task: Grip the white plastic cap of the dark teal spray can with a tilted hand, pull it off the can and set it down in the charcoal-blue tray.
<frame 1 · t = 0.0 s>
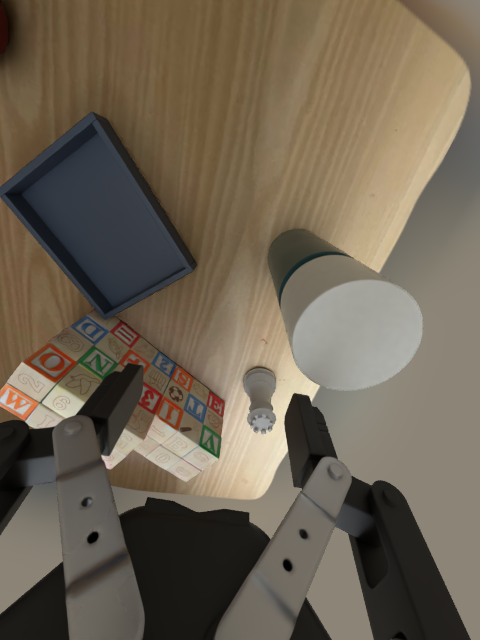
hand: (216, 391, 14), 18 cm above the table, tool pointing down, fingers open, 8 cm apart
stack of blocks: (155, 369, 36), on the table
tray: (111, 230, 28), on the table
rook chess piece: (259, 378, 36), on the table
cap: (327, 301, 17), point 13 cm above the table, touching spray can
spray can: (295, 257, 28), on the table
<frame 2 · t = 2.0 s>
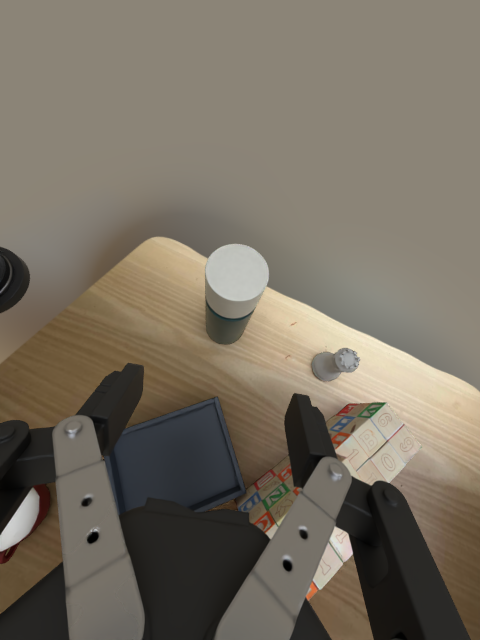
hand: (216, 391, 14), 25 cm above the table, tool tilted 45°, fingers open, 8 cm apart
stack of blocks: (308, 466, 37), on the table
tray: (175, 461, 35), on the table
rook chess piece: (323, 367, 41), on the table
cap: (232, 293, 29), point 13 cm above the table, touching spray can
cocoa: (34, 497, 32), on the table
spray can: (224, 326, 41), on the table
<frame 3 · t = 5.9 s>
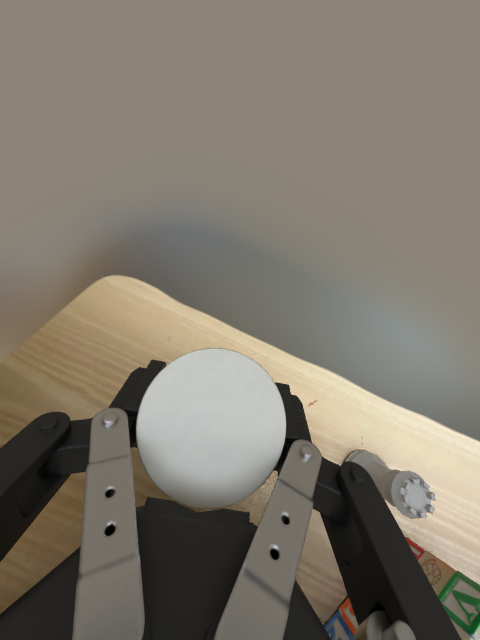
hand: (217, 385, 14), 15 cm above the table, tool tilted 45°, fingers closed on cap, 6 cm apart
rook chess piece: (360, 472, 27), on the table
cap: (211, 416, 15), point 13 cm above the table, touching gripper, spray can
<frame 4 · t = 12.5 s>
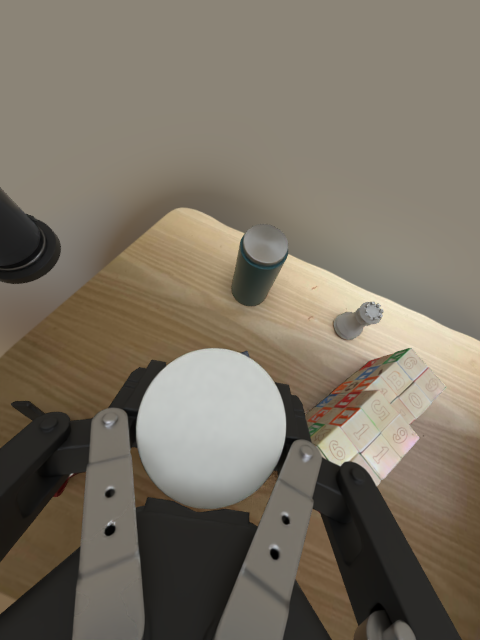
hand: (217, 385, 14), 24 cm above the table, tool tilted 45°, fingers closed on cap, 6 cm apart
stack of blocks: (334, 417, 38), on the table
rook chess piece: (344, 327, 43), on the table
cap: (211, 416, 15), point 23 cm above the table, touching gripper
cocoa: (77, 443, 33), on the table
spray can: (249, 289, 43), on the table
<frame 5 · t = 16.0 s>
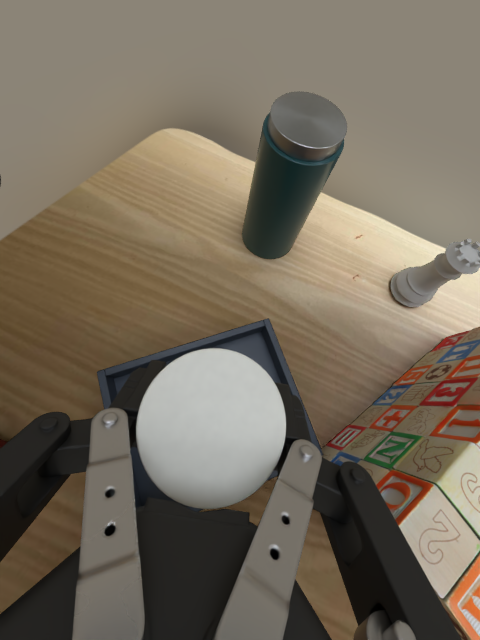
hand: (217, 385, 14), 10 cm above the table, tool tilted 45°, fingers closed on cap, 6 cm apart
stack of blocks: (400, 421, 25), on the table
tray: (209, 412, 23), on the table
rook chess piece: (404, 291, 30), on the table
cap: (211, 416, 15), point 9 cm above the table, touching gripper
spray can: (267, 236, 30), on the table
when the fingers open (2 cm above the table, at t = 18.9 s): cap stays where it is, resting on tray.
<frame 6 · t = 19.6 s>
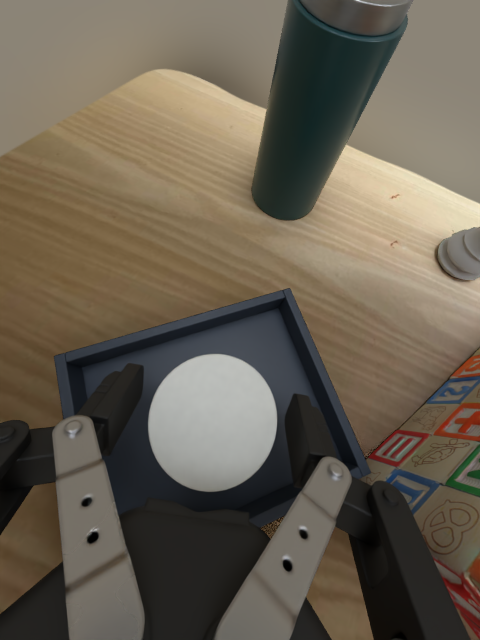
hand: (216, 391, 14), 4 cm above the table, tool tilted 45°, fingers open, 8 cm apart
stack of blocks: (462, 425, 19), on the table
tray: (211, 413, 17), on the table
rook chess piece: (455, 261, 24), on the table
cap: (212, 414, 17), resting on tray
spray can: (283, 193, 24), on the table
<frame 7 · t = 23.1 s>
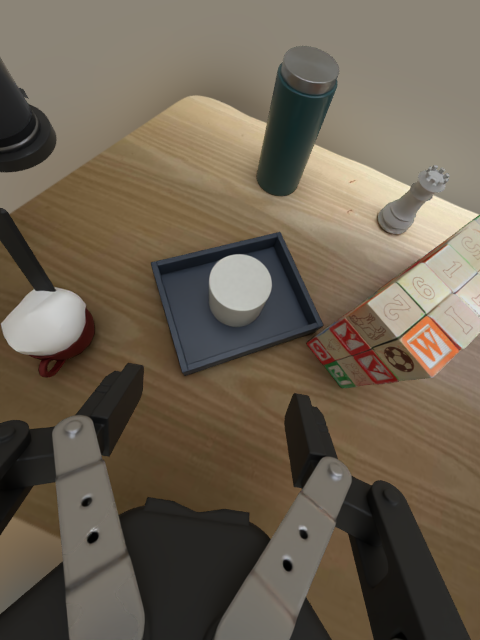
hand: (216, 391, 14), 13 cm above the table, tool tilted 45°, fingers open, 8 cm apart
stack of blocks: (385, 316, 32), on the table
tray: (234, 302, 30), on the table
rook chess piece: (390, 223, 36), on the table
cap: (235, 301, 29), resting on tray
cocoa: (74, 331, 27), on the table
spray can: (277, 179, 37), on the table
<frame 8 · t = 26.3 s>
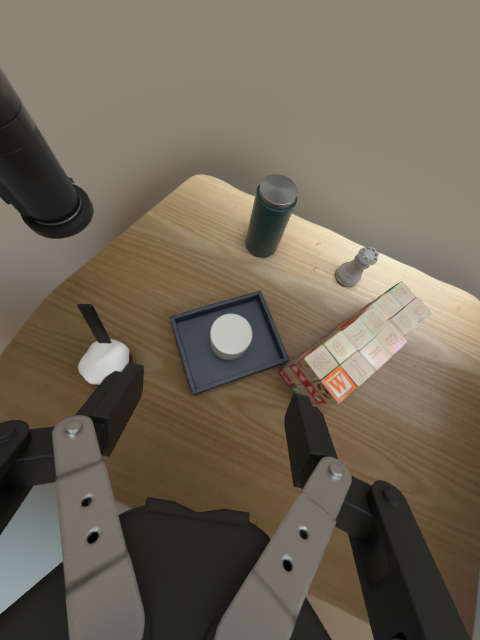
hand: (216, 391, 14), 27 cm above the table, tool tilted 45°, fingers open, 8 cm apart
stack of blocks: (336, 350, 44), on the table
tray: (228, 342, 42), on the table
rook chess piece: (345, 277, 49), on the table
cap: (228, 341, 42), resting on tray
cocoa: (117, 364, 39), on the table
spray can: (261, 243, 49), on the table
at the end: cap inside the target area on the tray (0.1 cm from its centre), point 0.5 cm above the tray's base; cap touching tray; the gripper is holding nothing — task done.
